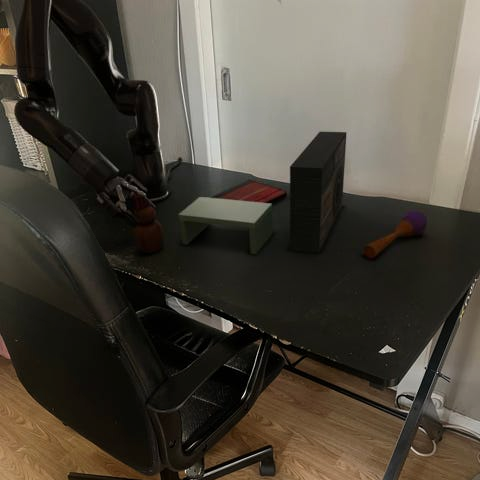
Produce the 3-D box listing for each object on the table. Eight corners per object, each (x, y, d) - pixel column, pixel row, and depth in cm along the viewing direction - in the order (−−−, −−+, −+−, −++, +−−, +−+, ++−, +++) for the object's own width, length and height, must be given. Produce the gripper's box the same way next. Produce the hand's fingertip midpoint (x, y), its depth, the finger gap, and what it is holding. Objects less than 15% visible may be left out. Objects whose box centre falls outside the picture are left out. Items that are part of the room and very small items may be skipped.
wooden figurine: (142, 258, 117) (130, 198, 109) (135, 249, 121) (123, 191, 113) (168, 250, 119) (158, 192, 111) (160, 242, 124) (150, 185, 115)
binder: (202, 199, 140) (248, 178, 153) (202, 206, 142) (248, 185, 154) (244, 213, 131) (289, 189, 144) (244, 221, 133) (289, 197, 145)
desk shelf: (203, 225, 131) (200, 196, 126) (272, 233, 124) (272, 203, 119) (182, 244, 122) (178, 214, 117) (255, 254, 115) (254, 223, 110)
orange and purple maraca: (357, 238, 110) (409, 205, 119) (360, 261, 112) (410, 228, 122) (378, 241, 105) (431, 207, 114) (381, 265, 108) (432, 231, 117)
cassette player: (319, 253, 113) (321, 168, 102) (290, 250, 116) (289, 166, 104) (342, 206, 135) (346, 132, 124) (317, 204, 138) (319, 131, 126)
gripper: (83, 166, 104) (139, 220, 108) (116, 148, 115) (167, 197, 119) (69, 189, 109) (123, 240, 112) (102, 169, 120) (151, 216, 123)
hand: (145, 217), depth 115 cm, fingers open, 8 cm apart
